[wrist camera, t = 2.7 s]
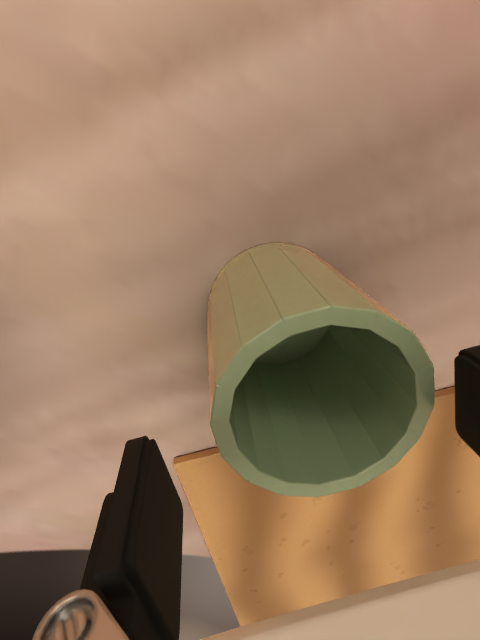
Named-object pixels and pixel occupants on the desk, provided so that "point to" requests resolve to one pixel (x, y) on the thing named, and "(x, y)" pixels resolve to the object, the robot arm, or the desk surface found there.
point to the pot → (310, 375)
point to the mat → (339, 524)
